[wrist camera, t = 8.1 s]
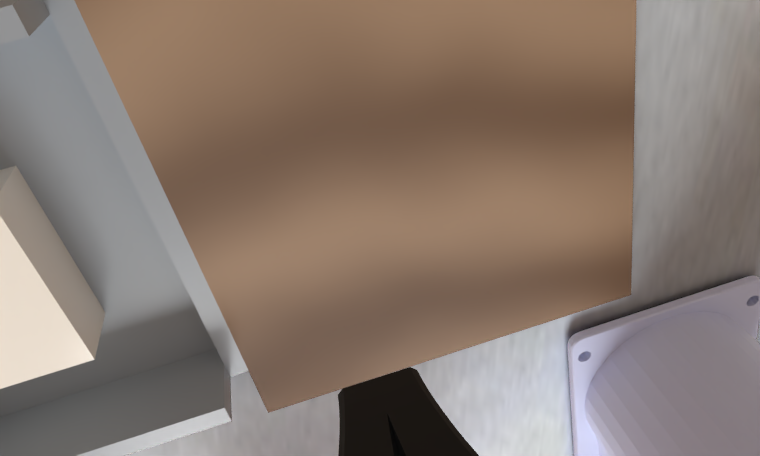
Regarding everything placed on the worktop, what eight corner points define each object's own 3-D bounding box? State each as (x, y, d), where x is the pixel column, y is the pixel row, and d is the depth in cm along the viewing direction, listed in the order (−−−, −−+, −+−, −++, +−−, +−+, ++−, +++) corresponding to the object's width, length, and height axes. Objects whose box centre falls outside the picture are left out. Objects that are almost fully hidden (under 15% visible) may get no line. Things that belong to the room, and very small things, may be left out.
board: (612, 274, 23) (630, 294, 22) (265, 386, 22) (268, 412, 21) (611, -279, 14) (641, -288, 13) (28, -132, 13) (13, -129, 12)
